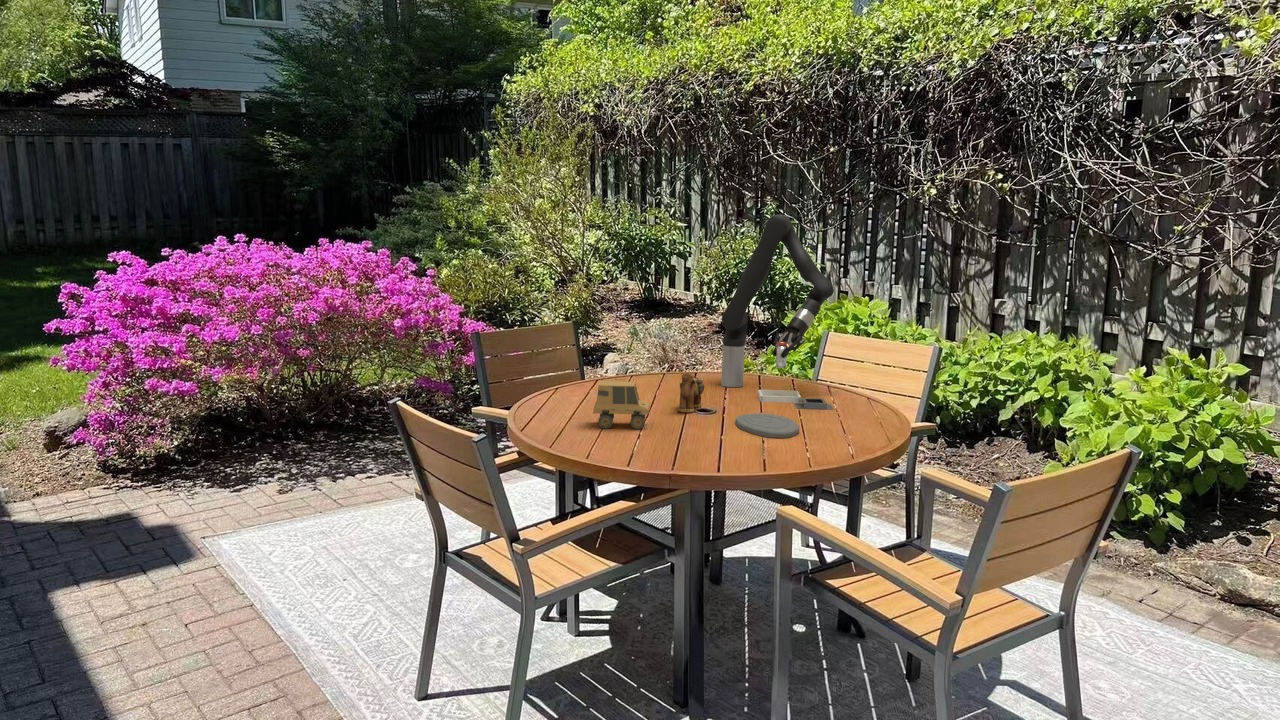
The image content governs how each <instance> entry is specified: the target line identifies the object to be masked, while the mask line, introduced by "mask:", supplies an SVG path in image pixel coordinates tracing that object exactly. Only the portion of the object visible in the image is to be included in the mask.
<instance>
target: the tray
mask: <svg viewBox="0 0 1280 720" xmlns="http://www.w3.org/2000/svg"><path fill="white" fill-rule="evenodd" d="M757 398H758V400H759V403H783V404H785V403H789V404H792V403H793V404H794V403H801V401H802V396H801V395H800V392H799V391H798V390H790V389H789V390H787V389H785V390H784V389H779V390H778V389H758V390H757Z"/></svg>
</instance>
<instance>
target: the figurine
mask: <svg viewBox="0 0 1280 720" xmlns="http://www.w3.org/2000/svg"><path fill="white" fill-rule="evenodd" d="M703 382H704V380H702V379H699V378H698V377H696V376H693V375H692V374H691V373H689V372H686V373H683V374H682V375H681V382H680V383H679V389H680V391H679V407H678V408H677V412H678V413H688V414H689V413H694V412H695V411H696V409H695V408H698V409H699V408H701V407H702V394H703V393H704V391H705V385H704V384H703Z"/></svg>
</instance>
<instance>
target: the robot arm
mask: <svg viewBox="0 0 1280 720" xmlns="http://www.w3.org/2000/svg"><path fill="white" fill-rule="evenodd" d="M780 242H781V243H782V245H784V247H785V249H786V250H787V252H788V254H789V256H790V258H791V260H792V262H793V265H794V267H795V268H796V270H797V272H798V273H799V274H800V276H801V278H802V279H803V281H804V282H806V283H811V285H812V286H813V287H812V288H811V290H810V291H809V293H808V294H807V296H806V298H805V300H804V302H803V303H802V305H800V307H799V309H798V310H797V311H796V312H795V313H794V315H793V316H792V318H791V320H789V322H788V324H787V325H786V329H785V331H783V332H782V333H780V332H779V331H777V333H776V335H775V338H774V340H773V345H774V346H775V347H774V348H773V350H772V351H771V355H772V356H773V357H775V358H776V349H777V341H786V342H787V346H786V348H785V349H784V350H783V352H782V353H781V355H780V356H781V357H782V358H785V357H786V356H788V355H789V353H790V352H792V351H793V352H796V351H797V350H798V349H799V348H800V347H801V346H802V345H804V343H805V342H806V341H805V339H804V336H805V335H806V333H807V331H808V330H809V328H810V327H811V325H812V324H813V322H814V320H815V319H816V317H817V315H818V314H819V312H820V311H821V307H822V305H823V304H824V302H826V300H828V299H829V298H831V297H832V295H833V294H834V291H835V290H834V289H835V288H834V286H833V284H832V282H831V281H830V280H829V278H828V277H827V276H826V275H825V274H823V273H822V272H821V271H820V270H819V268H818V266H817V265H816V263H815V262H814V260H813V259H812V258H811V256H810V255H809V253H808V252H807V250H806V249H805V247H804V245H803V244H802V242H801V241H800V239H799V236H798V234H797V232H796V231H795V228H794V226H793V223H792V221H791V219H790V217H789V216H788V215H785V214H783V213H782V214H773V215H772V216H770V217H769V218H768V219H767V220H766V222H765V224H764V228H763V231H762V233H761V237H760V239H759V241H758V243H757V246H756V248H755V249H754V251H753V253H752V255H751V257H750V258H749V261H748V262H747V264H746V266H745V269H744V270H743V272H742V275H741V278H740V280H739V282H738V285H737V287H736V289H735V292H734V294H733V297H732V298H731V300H730V301H729V303H728V304H727V307H726V308H725V310H724V311H723V312H722V315H721V323H722V326H723V327H724V329H725V332H724V336H723V338H722V351H721V353H722V356H721V357H722V358H721V360H722V361H721V373H720V375H721V376H720V384H721V387H725V388H740V387H741V388H742V387H743V386H744V377H745V376H744V374H745V353H746V352H745V350H746V349H745V348H746V340H747V335H748V320H749V319H748V314H747V309H748V307H749V305H750V304H751V301H752V300H753V299H754V298H755V296H756V295H757V294H758V293H759V291H760V289H761V288H762V286H763V285H764V282H765V281H766V278H767V277H768V274H769V273H770V270H771V267H772V262H773V258H774V254H775V251H776V249H777V248H778V246H779V244H780Z"/></svg>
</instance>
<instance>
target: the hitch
mask: <svg viewBox="0 0 1280 720" xmlns="http://www.w3.org/2000/svg"><path fill="white" fill-rule="evenodd" d="M793 404H794V406H795V409H797V410H818V411H819V410H823V411H825V410H826V411H835V408H834V407H833V405H832V404H831V403H827V401H826V400H825V399H824V398H819V397H817V398H815V397H814V398H812V397H810V398H809V397H801V403H793Z"/></svg>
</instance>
